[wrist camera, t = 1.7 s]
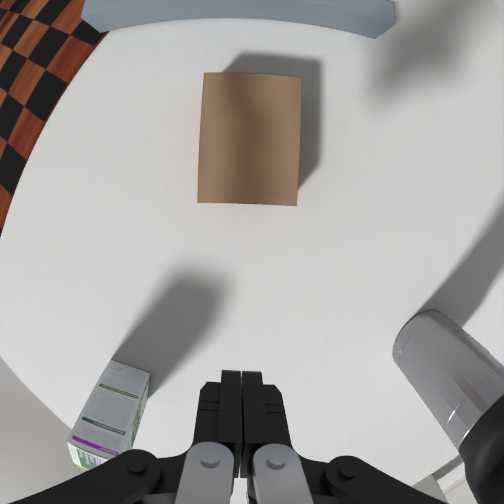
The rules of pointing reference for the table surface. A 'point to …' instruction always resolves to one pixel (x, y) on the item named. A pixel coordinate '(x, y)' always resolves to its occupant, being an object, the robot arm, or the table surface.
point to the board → (245, 12)
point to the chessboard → (35, 75)
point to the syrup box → (109, 416)
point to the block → (249, 139)
